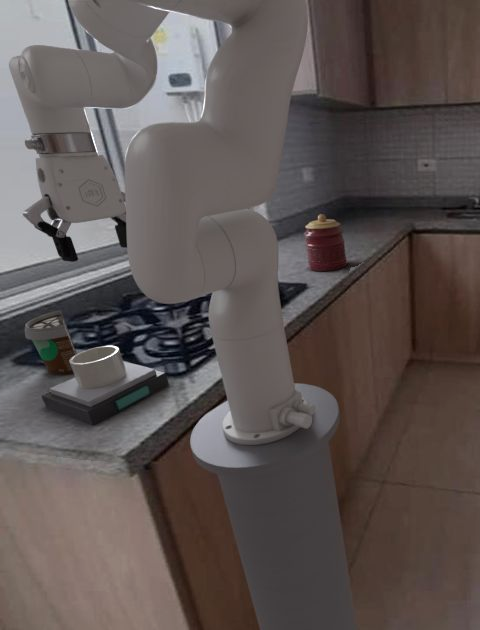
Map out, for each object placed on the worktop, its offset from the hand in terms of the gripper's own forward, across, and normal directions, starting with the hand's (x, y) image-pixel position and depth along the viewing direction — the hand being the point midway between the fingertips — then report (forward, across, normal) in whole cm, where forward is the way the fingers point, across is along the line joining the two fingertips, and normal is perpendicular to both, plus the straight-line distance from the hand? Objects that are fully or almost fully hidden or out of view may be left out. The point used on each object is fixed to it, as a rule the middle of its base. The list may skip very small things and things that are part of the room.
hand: (101, 253), depth 75 cm
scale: (+23, -8, -4) cm, 25 cm away
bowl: (+20, -8, -3) cm, 21 cm away
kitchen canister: (+23, +75, +9) cm, 79 cm away
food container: (+23, -4, +17) cm, 29 cm away
